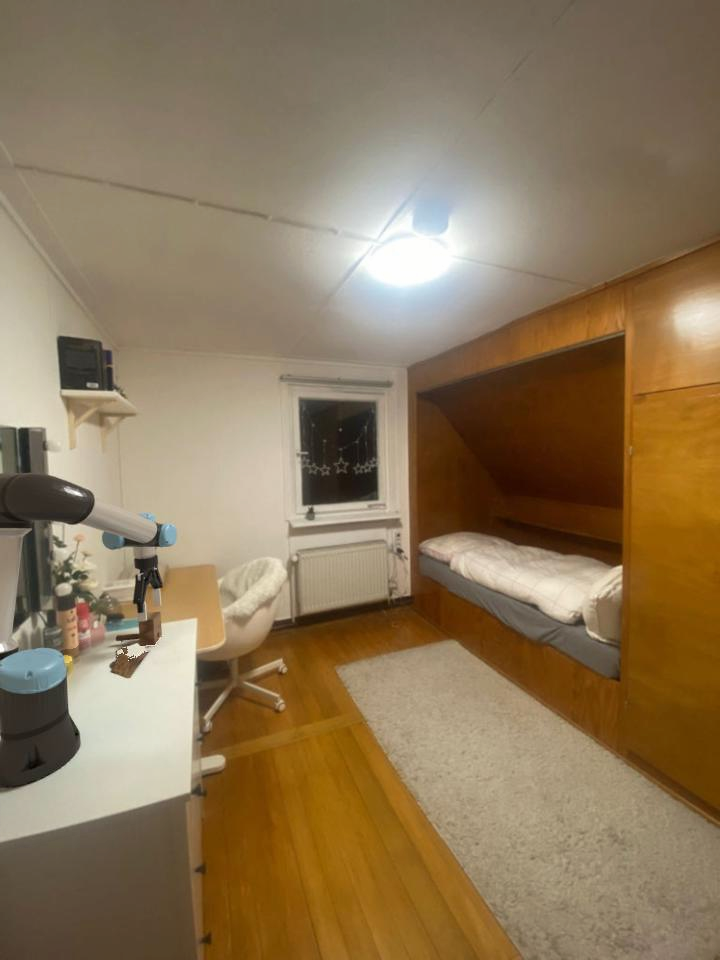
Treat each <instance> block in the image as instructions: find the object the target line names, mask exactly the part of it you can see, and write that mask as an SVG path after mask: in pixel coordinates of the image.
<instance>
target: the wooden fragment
mask: <svg viewBox="0 0 720 960" xmlns="http://www.w3.org/2000/svg"><path fill="white" fill-rule="evenodd" d="M120 648H121V649H122V650H123V652H124V654H123V653H121V654H119V655H117V654H116V657H117V656H118V658H116V657H115V658H116V659H115V660H114V661H112V662H110V665H109V666H110V667H111V670H110V673H112V674H115V675H118V676H121V677H123V678H124V679H131V677H132V676H133V674H134V672H136V670H137V669H138V668H139V666H140V665H141V663H142V661H143V660H144V659H145V658H146V656H147V655H148V654H149V652H145V651H144V653H142V654H141V655H140V656H138V657H137V658H136V656H135V658H132V657H134V655H133V656H131V657H129V656H127V655H125V654H127V653H128V651H127V650H128V649H127V647H126V648H122V647H120ZM128 657H129V658H128ZM130 658H132V659H130ZM128 660H129V661H128Z"/></svg>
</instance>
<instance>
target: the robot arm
mask: <svg viewBox="0 0 720 960" xmlns="http://www.w3.org/2000/svg"><path fill="white" fill-rule="evenodd" d="M33 522H54V523H55V522H57V523H62V524H66V525H69V526H77V525H79V524H80V525H84V526H86V527H90V528H93V529H96V530H98V531H102V535H101V542H102V544H103V546H104V547H105V548H107V550H110V551H114V550H121V549H122V548H132V551H133V557H134V559H133V562H134V564H133V565H134V569H136V570H139V574H138V573H137V574H135V576H134V577H135V578H134V579H135V584H134V589H133V590H134V591H133V599H132V604H133V605H136V613H137V614H136V616H137V623H138V622H140V621H147V613H148V612H147V603H146V595H147V590H148V586H149V585H151V587H152V589H151V594H152V595H151V596H152V607H161V606H162V596H161V589H163V587H164V585H163V581H162V577H161V574H160V571H159V566H158V565H159V557H158V555H157V554H158V549H159V548H168V547H169V548H170V547H172V546H174V544H175V543H176V541H177V538H178V530H177V527H176V526H175V525H173V524H171V523H159V522H156V519H155V514H153V513H151V512H142V513H134V512H133V511H129V510H127V509H125V508H122V507H120V506H117V505H115V504H113V503H110V502H107V501H106V500H104V499H101V498H98V497H96V496H95V494H94V492H93V491H92V490H90V489H87V488H85V487H82V486H80V485H78V484H76V483H73V482H71V481H68V480H65V479H63V478H60V477H57V476H54V475H51V474H50V475H49V474H46V473H41V472H26V473H25V472H21V473H20V472H19V473H18V472H9V473H8V472H7V473H1V472H0V787H1V786H4V787H3V788H8V787H7V786H14V787H19V786H23V785H22V784H24V785H26V784H25V783H27V784H29V783H28V782H30V783H32V782H31V781H33V782H35V781H34V780H36V779H38V780H40V779H42V778H41V777H43V776H45V777H47V776H49V775H50V774H52V773H54V772H55V771H57V770H59V769H60V768H62V767H63V766H64V765H66V764H67V763H68V762H69V761H70V760H72V759H73V758H74V756H75V755H76V754H77V752H79V750H80V748H81V743H82V741H81V733H80V730H79V729H78V726H77V725H76V723H75V722H74V719H73V718H72V716H71V714H70V710H69V708H70V707H69V696H68V695H69V693H68V677H67V676H68V675H67V674H68V673H67V665H66V663H65V657H64V655H63V653H62V652H60V650H57V649H54V648H50V647H38V648H37V647H36V648H35V649H34V648H33V649H30V648H29V649H25V650H21V651H19V650H20V643H19V642H17V641H16V640H15V639H13V629H14V619H15V610H16V601H17V595H18V584H19V573H20V568H21V567H20V566H21V565H20V564H21V557H22V550H23V549H22V547H23V539H24V537H25V536H26V535H27V534H28V533H30V532H31V531H32V530H33V524H34V523H33ZM48 774H49V775H48ZM46 775H47V776H46ZM39 778H40V779H39ZM43 778H44V777H43ZM36 781H37V780H36ZM18 785H19V786H18ZM5 786H6V787H5Z"/></svg>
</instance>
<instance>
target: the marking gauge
mask: <svg viewBox="0 0 720 960" xmlns="http://www.w3.org/2000/svg"><path fill="white" fill-rule="evenodd" d="M146 613H147V621H140V622H138V621H137V623H138V633H127V634H118V635H116V637H115V641H116V642H121V643H123V642H125V641H134V640H139V644H140V646H146V645H155V644H156V642H157V641H158V640H159V638H160V637H161V635H162V636H163V630H162V628H163V627H162V617H161V616H162V615H161V613H162V612H161V611H153V612H152V611H151V612H146Z"/></svg>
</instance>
